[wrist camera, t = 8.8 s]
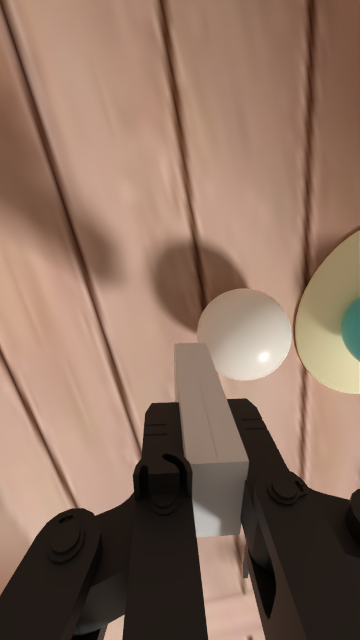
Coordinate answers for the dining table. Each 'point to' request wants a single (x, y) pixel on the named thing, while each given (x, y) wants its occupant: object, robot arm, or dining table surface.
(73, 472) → the dining table surface
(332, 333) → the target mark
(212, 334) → the cue ball
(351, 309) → the teal ball
